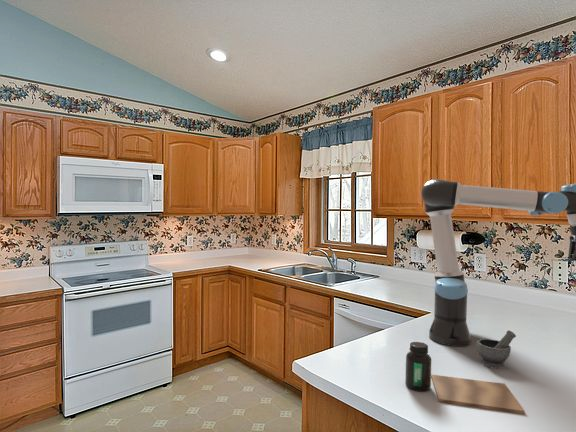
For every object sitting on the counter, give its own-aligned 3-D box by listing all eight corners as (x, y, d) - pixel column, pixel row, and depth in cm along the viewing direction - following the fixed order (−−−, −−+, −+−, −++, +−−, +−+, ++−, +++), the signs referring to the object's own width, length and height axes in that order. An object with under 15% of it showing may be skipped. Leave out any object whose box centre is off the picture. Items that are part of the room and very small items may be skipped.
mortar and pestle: (477, 367, 118) (477, 330, 118) (475, 356, 127) (476, 322, 126) (517, 374, 113) (518, 335, 113) (512, 363, 122) (513, 327, 122)
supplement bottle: (421, 394, 99) (422, 350, 99) (400, 384, 105) (401, 343, 104) (435, 388, 103) (436, 346, 103) (414, 378, 109) (415, 338, 108)
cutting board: (438, 401, 95) (438, 398, 95) (431, 377, 110) (431, 374, 110) (524, 414, 90) (524, 410, 90) (504, 386, 105) (505, 383, 105)
